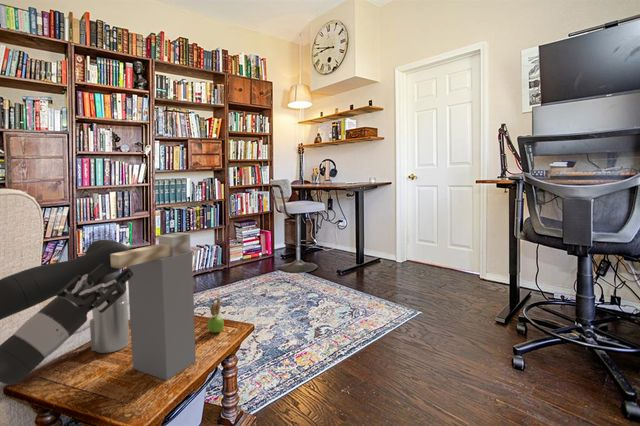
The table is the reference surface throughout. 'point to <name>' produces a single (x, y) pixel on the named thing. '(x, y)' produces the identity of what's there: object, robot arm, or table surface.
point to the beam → (153, 250)
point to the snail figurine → (215, 318)
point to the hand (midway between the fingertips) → (117, 268)
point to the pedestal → (162, 315)
